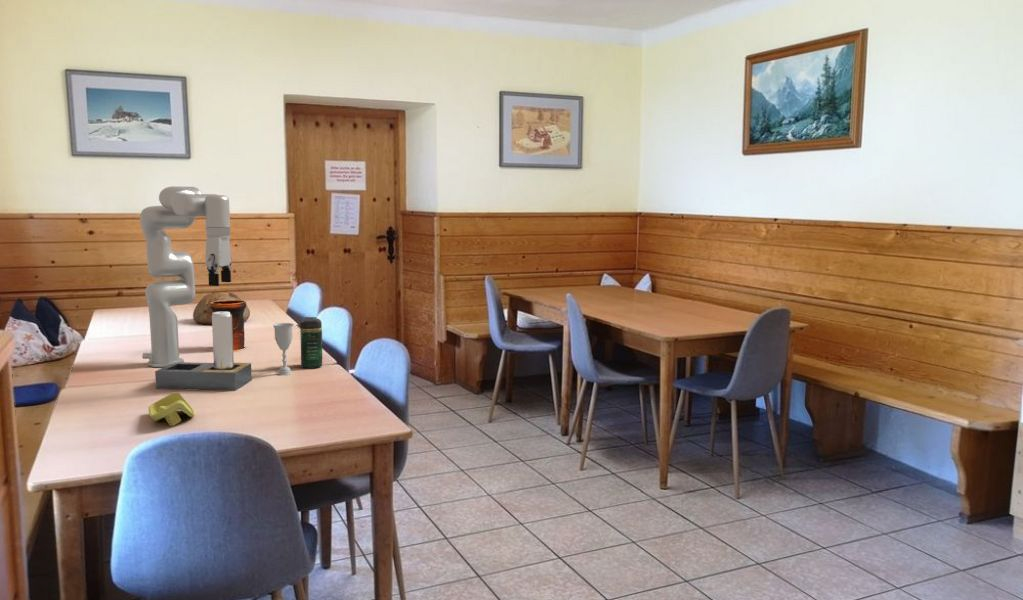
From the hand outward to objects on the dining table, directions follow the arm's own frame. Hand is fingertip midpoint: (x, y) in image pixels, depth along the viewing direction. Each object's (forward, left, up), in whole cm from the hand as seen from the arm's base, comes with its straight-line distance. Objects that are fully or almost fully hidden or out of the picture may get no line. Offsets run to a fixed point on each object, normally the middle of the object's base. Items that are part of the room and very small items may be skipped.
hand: (220, 283), depth 263 cm
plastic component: (+2, -41, -35) cm, 54 cm away
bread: (-55, +127, -35) cm, 142 cm away
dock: (-7, 0, -35) cm, 35 cm away
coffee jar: (+21, +31, -35) cm, 51 cm away
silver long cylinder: (0, 0, -35) cm, 35 cm away
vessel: (-23, +61, -35) cm, 74 cm away
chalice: (+15, +18, -35) cm, 42 cm away
